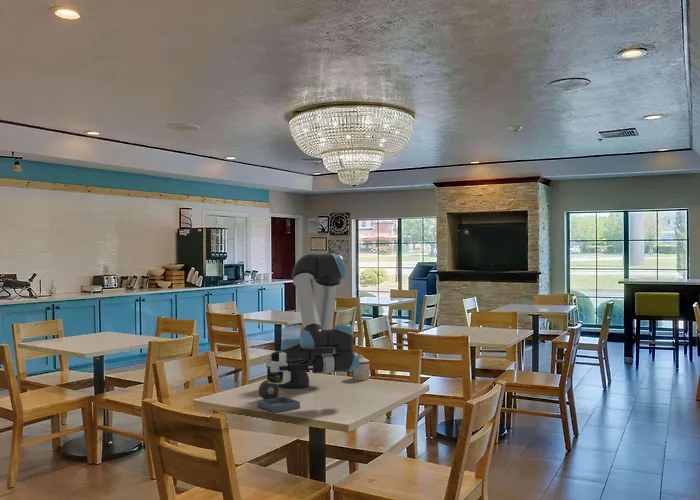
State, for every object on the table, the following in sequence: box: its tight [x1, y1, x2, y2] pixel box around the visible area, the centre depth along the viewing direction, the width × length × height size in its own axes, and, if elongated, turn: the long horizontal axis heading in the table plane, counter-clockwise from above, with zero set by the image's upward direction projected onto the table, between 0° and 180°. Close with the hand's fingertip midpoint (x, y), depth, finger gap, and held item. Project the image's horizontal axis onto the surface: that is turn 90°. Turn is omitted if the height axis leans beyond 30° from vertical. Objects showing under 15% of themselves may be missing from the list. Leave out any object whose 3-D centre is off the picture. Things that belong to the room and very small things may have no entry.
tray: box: [257, 395, 301, 414], centre depth 245 cm, size 12×12×3 cm
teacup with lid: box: [351, 354, 370, 381], centre depth 303 cm, size 12×9×12 cm
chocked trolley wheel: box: [258, 379, 285, 400], centre depth 260 cm, size 3×11×8 cm, turn 128°
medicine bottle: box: [266, 351, 291, 384], centre depth 245 cm, size 7×7×12 cm
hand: (268, 366), depth 244 cm, fingers closed on medicine bottle, 10 cm apart
